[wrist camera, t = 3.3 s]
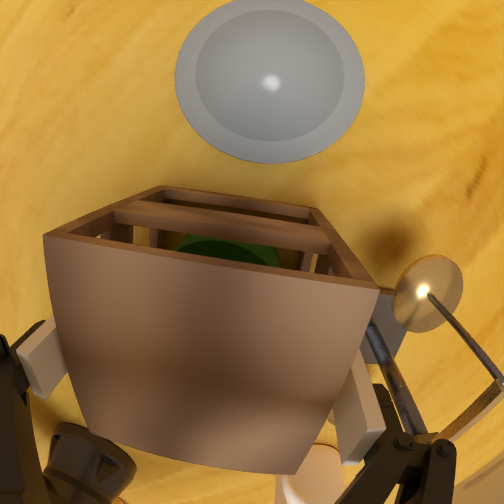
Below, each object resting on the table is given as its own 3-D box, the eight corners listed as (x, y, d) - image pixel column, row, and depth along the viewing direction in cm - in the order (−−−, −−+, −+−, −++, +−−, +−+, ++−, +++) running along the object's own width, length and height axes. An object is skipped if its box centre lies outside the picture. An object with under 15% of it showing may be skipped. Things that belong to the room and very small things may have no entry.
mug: (317, 421, 29) (327, 502, 19) (347, 461, 32) (358, 524, 22) (250, 441, 30) (244, 516, 20) (291, 477, 34) (292, 537, 23)
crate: (155, 320, 25) (89, 432, 13) (159, 185, 21) (42, 234, 9) (287, 343, 25) (294, 475, 13) (318, 209, 21) (380, 289, 9)
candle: (205, 198, 21) (157, 236, 12) (302, 254, 22) (322, 328, 13) (160, 285, 24) (107, 359, 15) (247, 332, 25) (235, 423, 16)
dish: (168, 151, 20) (162, 152, 19) (196, -2, 16) (192, -10, 15) (346, 178, 20) (350, 180, 19) (366, 21, 16) (371, 15, 15)
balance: (305, 392, 27) (317, 535, 12) (357, 217, 21) (486, 337, 6) (368, 395, 27) (404, 522, 12) (432, 233, 21) (569, 334, 6)
